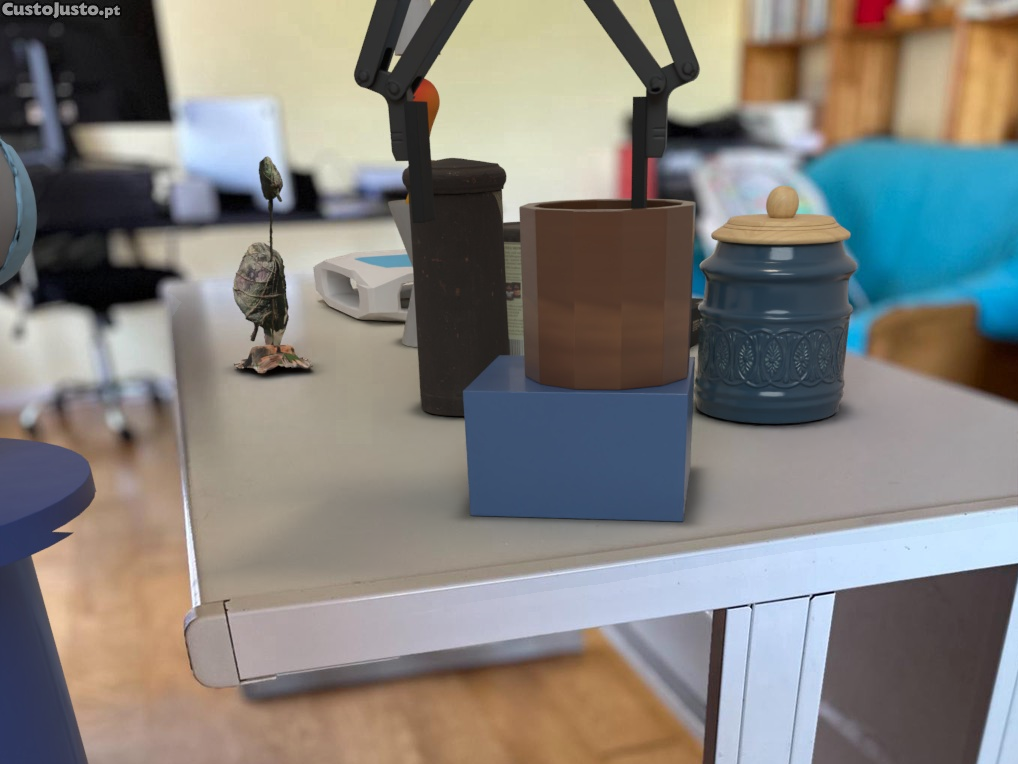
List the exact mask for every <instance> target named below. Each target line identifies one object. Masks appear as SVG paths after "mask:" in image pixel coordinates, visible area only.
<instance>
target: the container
mask: <svg viewBox="0 0 1018 764" xmlns="http://www.w3.org/2000/svg"><path fill="white" fill-rule="evenodd" d="M434 160H435V159H434ZM431 165H432V180H433V195H434V210H435V220H432V221H429V222H426V223H413V217H412V204H411V190H410V177H409V165H408V166H407V167H406V168H404V170H403V172H402V174H401V180H402V184H403V186H404V187H405V190H406V191H407V196H408V195H409V212H410V225H411V241H412V257H413V277H414V294H415V310H416V327H417V346H418V347H417V359H418V361H417V362H418V376H419V377H418V378H419V392H420V393H419V396H420V407H421V409H422V410H423V411H424V412H426V413H428V414H433V415H436V416H447V417H448V416H449V417H464V402H463V391H464V390H465V389H466V388H467V387H468V386H469V385H470V384H471V383H472V382H473V381H474V380H475V379H476V378H477V377H478V376H479V375H480V374H481V373H482V372H483V371H484V370H485V369H486V368H487V367H488V366H489V365H490V364H491V363H492V362H493V361H494V360H495V359H496V358H497V357H498V356H499V355H510V353H509V334H508V315H507V297H506V274H505V253H504V231H503V223H504V206H503V205H504V204H503V190H504V189H505V184H506V182H507V172H506V170H505V168H503V167H502V166H500V163H497V162H490V161H488V162H487V161H483V160H476V159H475V160H474V159H468V158H462V157H461V158H459V157H447V158H441V159H436V160H435V161H431Z"/></svg>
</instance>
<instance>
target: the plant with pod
mask: <svg viewBox="0 0 1018 764" xmlns="http://www.w3.org/2000/svg"><path fill="white" fill-rule="evenodd" d="M258 175H259V182H260V188H261V192H262V196H263V198H264V200H266V201H267V210H268V213H269V222H270V223H269V241H268V243H269V244H267V243H265V242H252V243H251V244H250V245H249V246H248V247H247V250H246V251H245V252H244V255H243V256H242V259H241V261H240V263H239V267H238V270H237V271H236V272H235V276H234V278H233V286H232V292H233V299H234V302H235V304H236V305H237V307H238V309H240V311H241V313H242V314H243V315H244V316H245V317H244V318H245V320H246V321H248V322H251V323H253V326H254V327H253V331H252V333H251V335H250V336H249V337H250V341H251V342H256V338H257V335H258V332H259V327H260V328H262V330H263V334H264V336H263V338H264V343H265V344H264V345H257V346H253V347H252V348H251V349H250V350H249V353H248V357H247V358H243V359H241V360H240V362H239V363H233V366H234V367H236V368H237V369H246V368H247V369H248V368H249V369H254V370H255V371H256V372H257V373H258V374H265V373H267V371H271V370H273V369H275V368H276V367H278V366H280V367H281V368H284V367H285V368H290V367H291V369H294V368H296V369H298V368H302V369H306V370H307V369H311V368H313V367H314V365H312V364H311V362H312V361H311V360H309V358H307V357H299V356H298V354H297V353H296V349H295V348H294V346H292V345H290V344H281V343H282V340H283V337H284V335H285V332H286V330H287V326H288V324H289V323H288V322H289V318H290V316H289V309H290V307H289V303H288V297H287V281H286V274H285V267H286V266H285V265H284V260H283V258H282V256H281V253H280V252H278V251H277V250H276V249H273V247H274V246H273V243H274V242H273V241H274V240H273V233H274V232H273V223H274V217H273V216H274V215H273V214H274V213H273V212H274V200H275V198H276V199H277V201H278V202H279V203H282V202H283V199H282V197H281V195H280V193H281V191H282V189H283V188H284V182H283V178H282V175H281V173H280V171H279V170H278V168H277V166H276V164H274V163H273V160H272V158H271V157H270V156H264V158H262V159H261V160H260V161H259V163H258Z"/></svg>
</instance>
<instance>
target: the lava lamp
mask: <svg viewBox="0 0 1018 764" xmlns="http://www.w3.org/2000/svg"><path fill="white" fill-rule="evenodd" d="M431 6H432V2H431V0H411V2H410V5H409V8H408V11H407V14H406V17H405V21H404V24H403V27H402V30H401V33H400V36H399V39H398V42H397V45H396V48H395V51H394V56H395V57H401V55H402V54H403V52H404V50H405V49H406V47H407V46H408V44H409V42H410V41H411V39H412V37H413V36H414V34H415V32H416V31H417V29H418V27H419V26H420V24H421V23H422V21H423V19H424V18H425V16H426V14H427V13H428V11H429V9H430V8H431ZM441 55H442V53H441V52H440V54H439V55H438V56H441ZM414 95H415V96H416V97H415V98H414V99H413V101H423V102H427V105H428V120H429V135H430V136H431V134H432V129H433V127H434V123H435V121H436V118H437V115H438V112H439V111H440V104H441V103H440V102H441V100H440V94H439V92H438V89H437V87H436V86H435V85H434V84H433V83H432V82H431V81H430V80H429V79H428V78H426V77H425V78H424V79H423V81H422V83H421V84H420V86H419V87H418V89H417V91H416V92H415V94H414ZM431 161H435V159H431ZM387 204H388V207H389V211H390V213H391V216H392V219H393V221H394V223H395V226H396V228H397V231H398V234H399V236H400V239H401V242H402V244H403V247H404V249H406V252H407V254H408V257H409V259H410V262H411V264H412V267H413V257H412V241H411V225H410V212H409V195H408V194H407V196H406V199H396V200H391V201H387ZM412 284H413V287H412V292H411V297H410V298H409V302H408V307H407V308H408V313H407V318H406V322H404V327H403V328H404V329H403V334H402V338H401V344H402V345H404V346H406V347H407V346H408V347H414V348H418V346H417V327H416V310H415V294H414V282H412Z"/></svg>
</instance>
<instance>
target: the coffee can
mask: <svg viewBox="0 0 1018 764" xmlns="http://www.w3.org/2000/svg"><path fill="white" fill-rule="evenodd" d="M503 231H504V253H505V274H506V297H507V315H508V334H509V353H510V355H524V333H523V303H522V273H521V242H520V221H507V222H503Z"/></svg>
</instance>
